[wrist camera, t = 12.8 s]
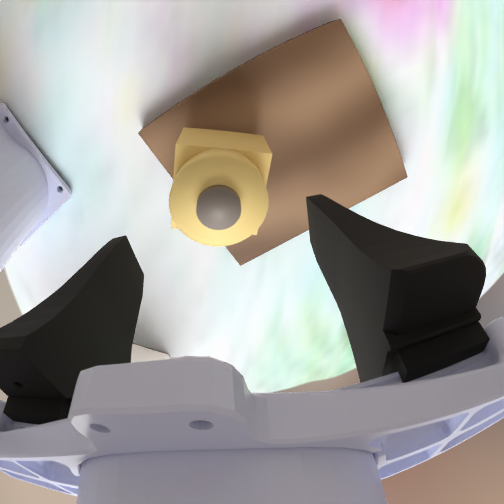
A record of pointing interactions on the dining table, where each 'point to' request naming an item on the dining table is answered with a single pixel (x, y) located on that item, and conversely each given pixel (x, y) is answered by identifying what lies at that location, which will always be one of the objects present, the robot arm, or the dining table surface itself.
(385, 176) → the board
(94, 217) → the dining table surface
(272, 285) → the dining table surface
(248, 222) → the yellow socket block
